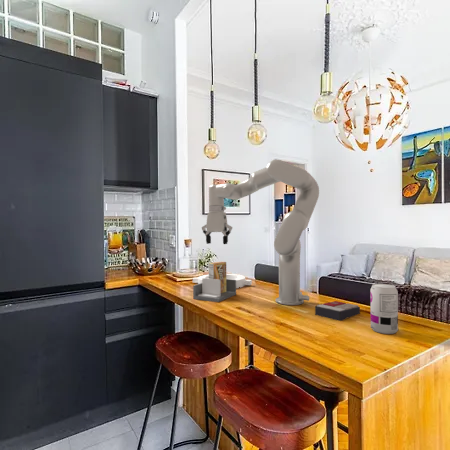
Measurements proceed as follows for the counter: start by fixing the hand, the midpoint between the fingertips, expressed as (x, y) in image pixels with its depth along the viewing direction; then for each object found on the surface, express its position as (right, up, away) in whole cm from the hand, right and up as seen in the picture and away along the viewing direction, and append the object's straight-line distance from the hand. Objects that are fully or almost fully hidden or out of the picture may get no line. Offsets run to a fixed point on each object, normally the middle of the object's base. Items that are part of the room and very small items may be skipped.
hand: (216, 243), depth 161 cm
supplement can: (+57, -26, -53) cm, 83 cm away
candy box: (0, -25, 0) cm, 25 cm away
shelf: (-1, -26, -1) cm, 26 cm away
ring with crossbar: (+2, -27, +30) cm, 40 cm away
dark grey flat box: (+49, -27, -33) cm, 65 cm away
